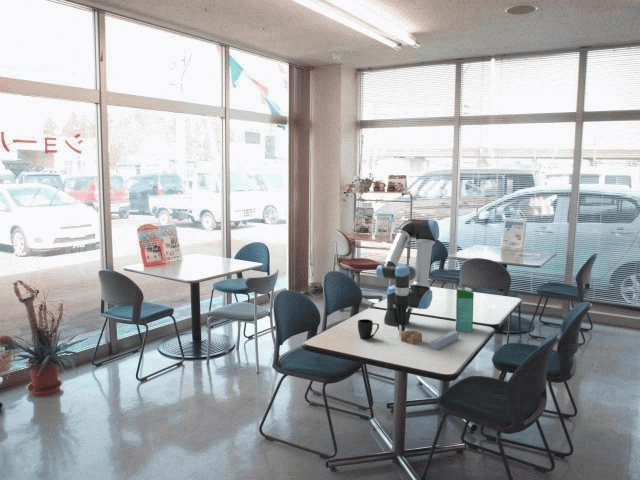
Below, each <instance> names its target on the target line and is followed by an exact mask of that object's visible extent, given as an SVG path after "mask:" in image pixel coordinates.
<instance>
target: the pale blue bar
mask: <svg viewBox="0 0 640 480" xmlns="http://www.w3.org/2000/svg"><path fill="white" fill-rule="evenodd" d="M458 339H459V331H456V330H451V331H450V332H447V333H446V334H443V335H442V336H438V337H437V338H436V339H433V340H431V348H430V349H432V350H435V351H437V350H439V349H441V348H443V347H445V346H447V345H449V344H450V343H451V344H452V342H455V341H456V340H458Z"/></svg>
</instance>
